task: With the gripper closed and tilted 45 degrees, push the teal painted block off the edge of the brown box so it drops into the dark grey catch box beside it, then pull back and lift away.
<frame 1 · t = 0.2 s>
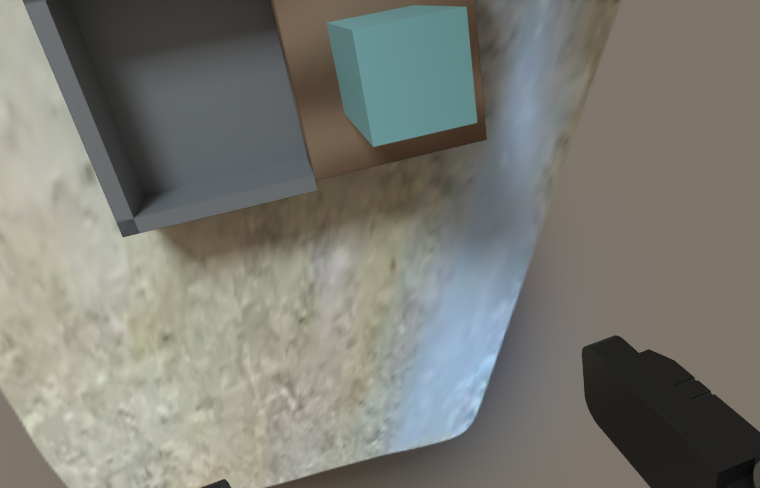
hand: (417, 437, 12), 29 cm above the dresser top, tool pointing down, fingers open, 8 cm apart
catch box: (193, 86, 35), on the dresser top
block: (378, 60, 31), point 6 cm above the dresser top, touching brown box
brown box: (366, 50, 36), on the dresser top
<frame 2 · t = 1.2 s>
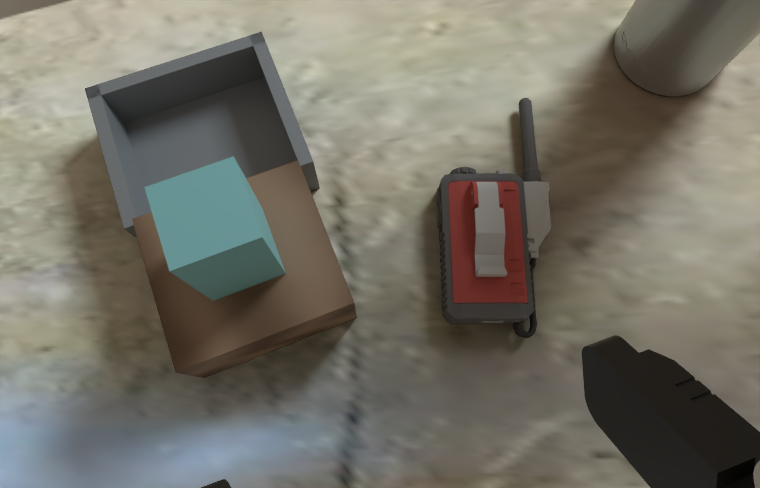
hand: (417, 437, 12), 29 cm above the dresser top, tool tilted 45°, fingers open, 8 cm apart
catch box: (215, 154, 45), on the dresser top
block: (238, 253, 37), point 6 cm above the dresser top, touching brown box
walkie-talkie: (489, 216, 45), on the dresser top
brown box: (258, 280, 42), on the dresser top
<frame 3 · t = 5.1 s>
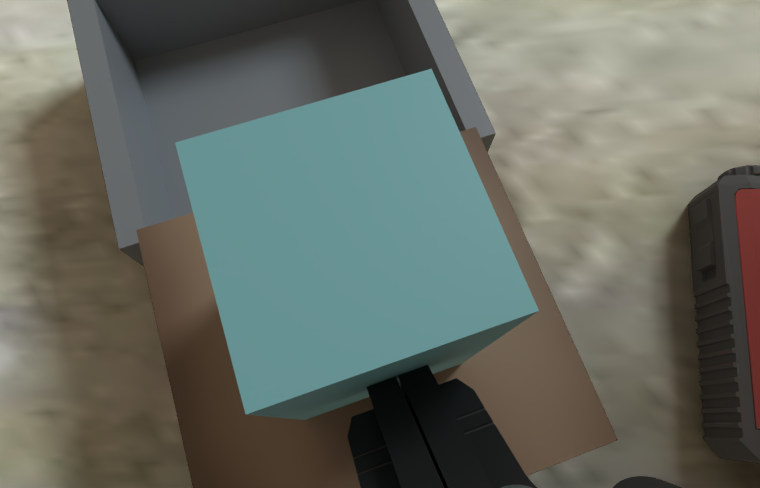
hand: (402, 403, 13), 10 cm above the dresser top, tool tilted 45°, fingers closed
catch box: (288, 122, 26), on the dresser top
block: (358, 313, 17), point 6 cm above the dresser top, touching gripper, brown box
brown box: (365, 353, 23), on the dresser top
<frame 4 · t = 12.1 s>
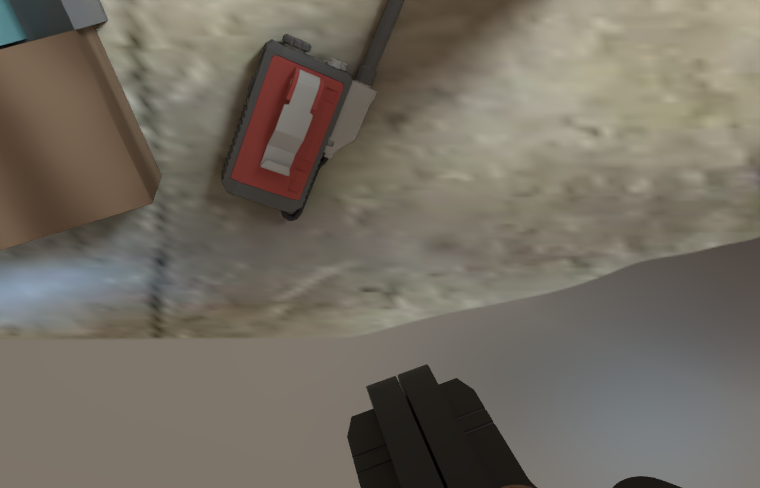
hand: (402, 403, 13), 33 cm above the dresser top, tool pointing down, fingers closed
walkie-talkie: (309, 90, 42), on the dresser top
brown box: (44, 129, 38), on the dresser top
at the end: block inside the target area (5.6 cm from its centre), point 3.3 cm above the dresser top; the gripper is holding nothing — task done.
